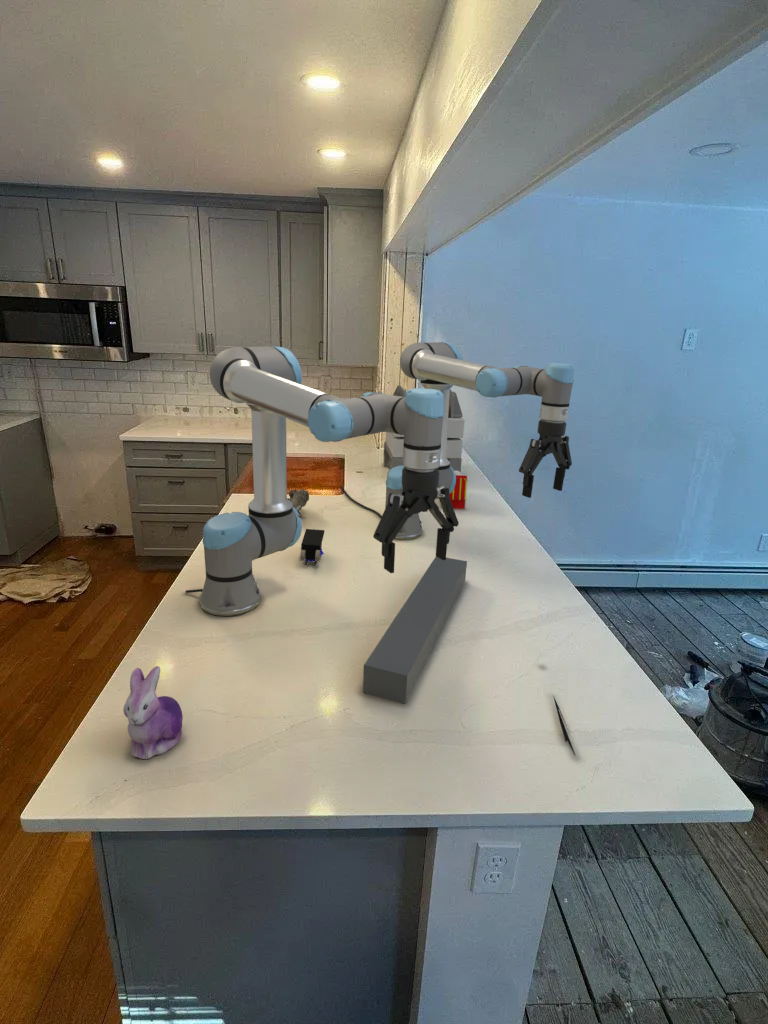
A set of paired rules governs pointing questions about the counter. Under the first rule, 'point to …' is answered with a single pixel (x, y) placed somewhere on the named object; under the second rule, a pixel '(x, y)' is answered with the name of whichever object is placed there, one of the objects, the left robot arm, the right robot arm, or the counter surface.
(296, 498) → the fossil
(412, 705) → the counter surface
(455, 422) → the white slatted crate
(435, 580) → the thick board
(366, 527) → the counter surface
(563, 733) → the feather
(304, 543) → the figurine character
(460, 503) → the red tall box
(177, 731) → the figurine
